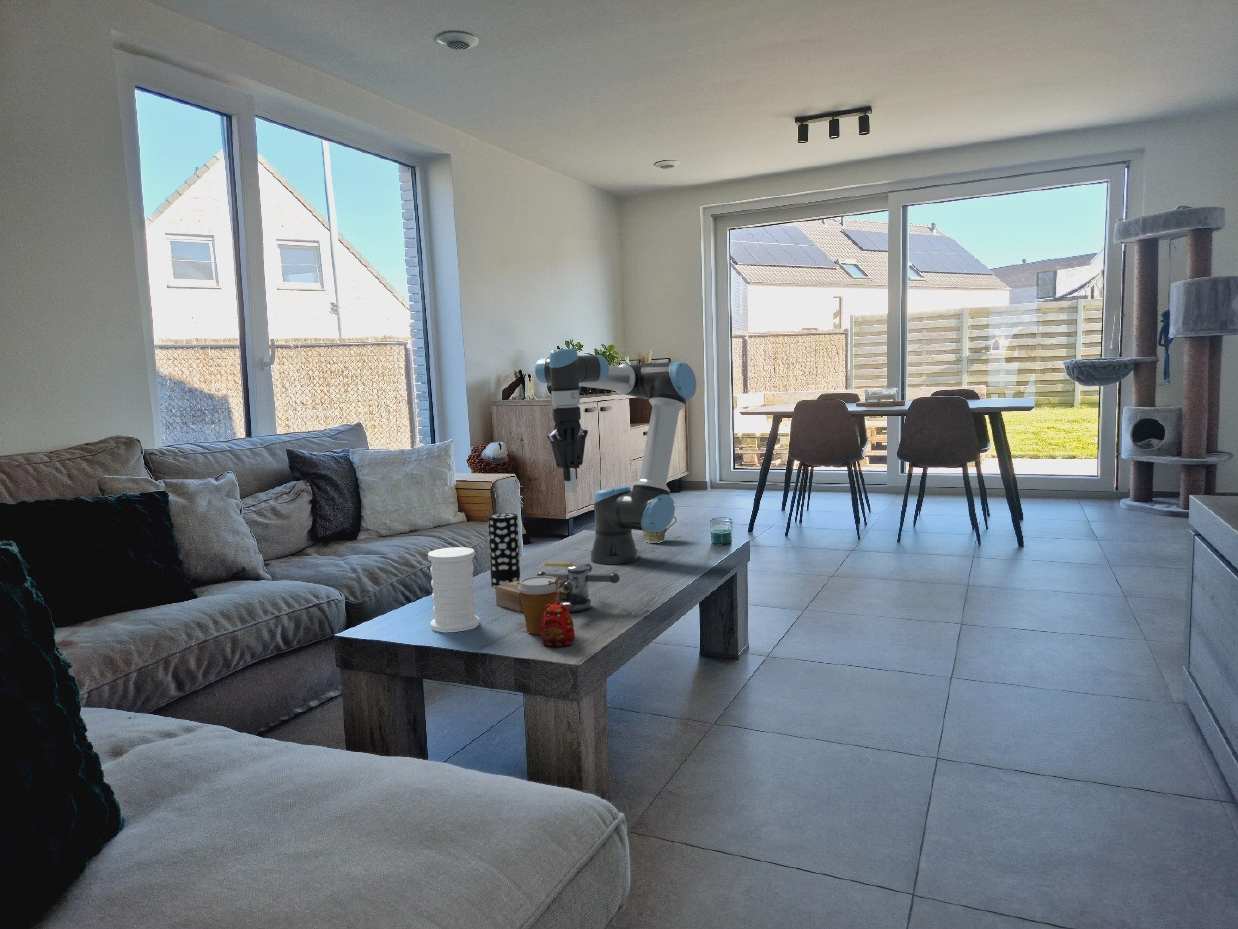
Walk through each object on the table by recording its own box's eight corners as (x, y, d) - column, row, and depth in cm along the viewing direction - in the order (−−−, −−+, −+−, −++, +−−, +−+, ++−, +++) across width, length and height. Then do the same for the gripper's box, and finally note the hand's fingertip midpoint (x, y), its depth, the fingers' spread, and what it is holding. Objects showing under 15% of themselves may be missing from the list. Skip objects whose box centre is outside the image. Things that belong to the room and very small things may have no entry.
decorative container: (469, 634, 187) (465, 557, 185) (422, 632, 189) (418, 557, 187) (486, 619, 198) (482, 547, 196) (441, 618, 200) (437, 546, 198)
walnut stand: (550, 590, 223) (549, 570, 222) (588, 601, 211) (588, 580, 211) (496, 604, 210) (495, 583, 210) (534, 616, 199) (533, 594, 198)
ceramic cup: (638, 545, 280) (637, 516, 279) (642, 539, 289) (641, 511, 288) (675, 545, 277) (675, 516, 276) (678, 539, 287) (677, 511, 286)
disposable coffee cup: (544, 639, 181) (542, 587, 180) (511, 633, 186) (509, 583, 185) (569, 628, 189) (567, 578, 188) (537, 622, 194) (534, 573, 193)
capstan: (628, 596, 213) (627, 554, 212) (611, 621, 192) (610, 574, 191) (550, 594, 218) (548, 553, 216) (525, 618, 197) (523, 573, 195)
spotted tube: (526, 584, 231) (523, 515, 229) (503, 590, 225) (500, 519, 223) (508, 579, 236) (504, 512, 234) (485, 585, 230) (481, 516, 228)
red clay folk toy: (537, 648, 175) (534, 581, 174) (545, 638, 182) (542, 573, 181) (571, 649, 174) (569, 581, 172) (578, 638, 181) (576, 573, 179)
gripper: (556, 408, 211) (562, 497, 214) (593, 404, 220) (598, 489, 223) (538, 408, 217) (544, 494, 220) (575, 404, 226) (580, 487, 229)
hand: (571, 492), depth 222 cm, fingers closed
